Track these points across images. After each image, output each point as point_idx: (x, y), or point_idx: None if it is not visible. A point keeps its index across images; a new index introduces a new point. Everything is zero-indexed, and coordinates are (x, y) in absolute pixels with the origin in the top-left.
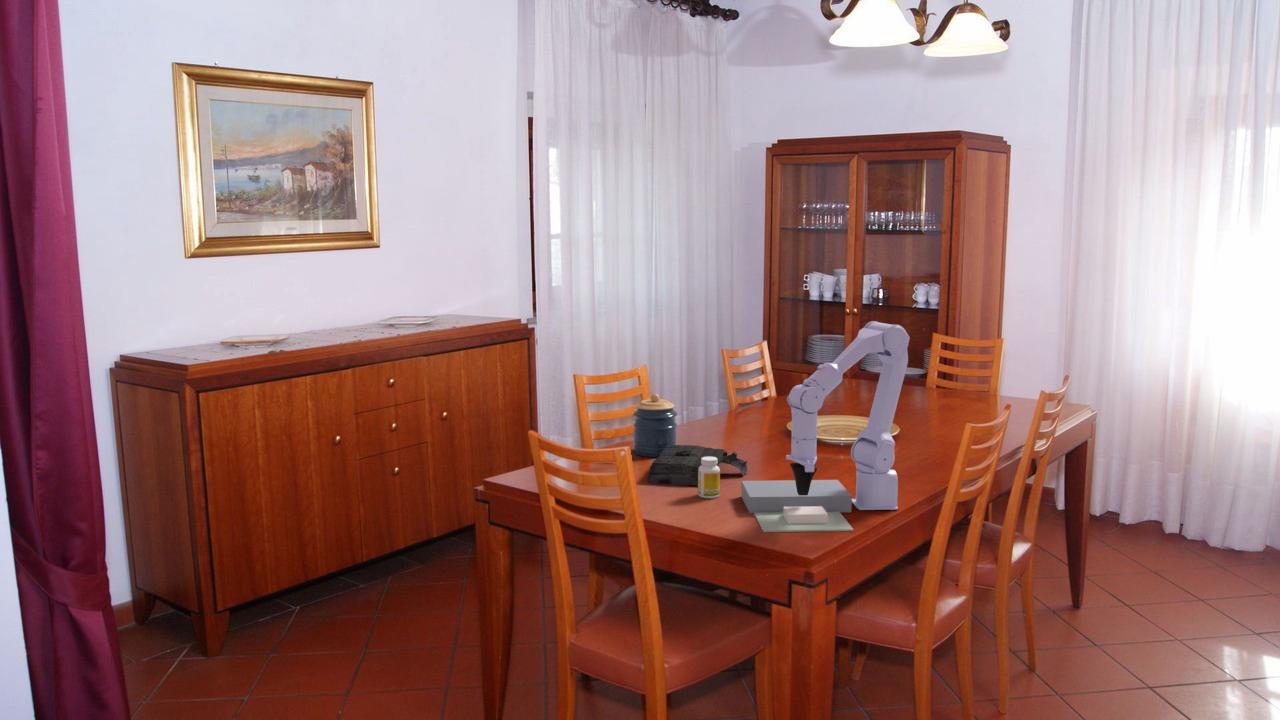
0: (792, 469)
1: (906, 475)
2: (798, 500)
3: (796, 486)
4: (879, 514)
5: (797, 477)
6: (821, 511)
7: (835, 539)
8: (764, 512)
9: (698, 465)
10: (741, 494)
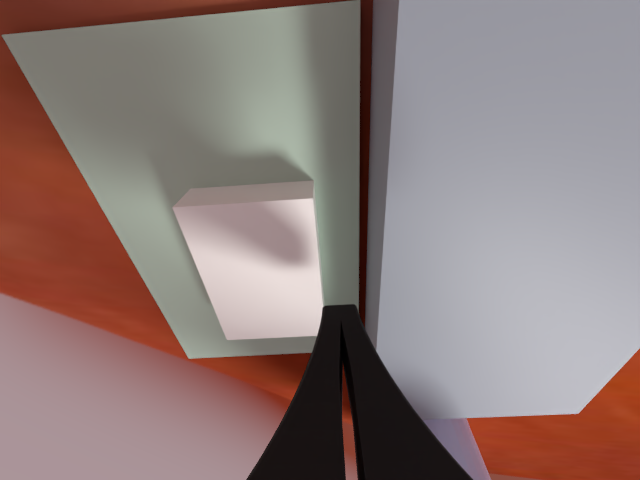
0: (400, 466)
1: (617, 460)
2: (376, 277)
3: (354, 335)
4: (344, 405)
5: (280, 423)
6: (257, 327)
7: (88, 311)
8: (359, 79)
9: None
10: None
